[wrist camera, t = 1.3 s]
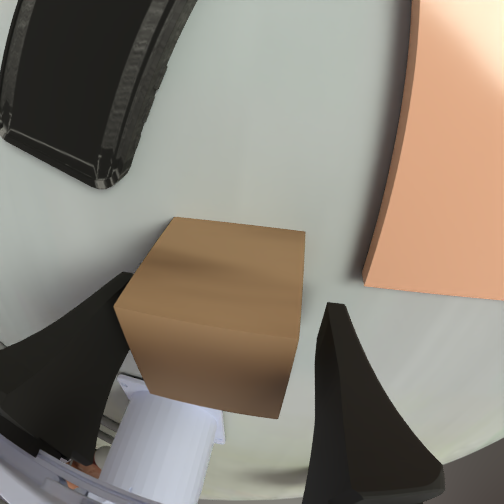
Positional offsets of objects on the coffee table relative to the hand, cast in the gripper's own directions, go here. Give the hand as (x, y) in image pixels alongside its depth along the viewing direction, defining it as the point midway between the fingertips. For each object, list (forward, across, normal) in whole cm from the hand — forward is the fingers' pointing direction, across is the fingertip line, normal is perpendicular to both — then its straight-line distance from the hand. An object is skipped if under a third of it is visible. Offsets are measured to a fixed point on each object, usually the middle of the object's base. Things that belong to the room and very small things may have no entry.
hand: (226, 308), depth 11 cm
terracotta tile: (+2, -11, -7) cm, 13 cm away
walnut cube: (+2, 0, 0) cm, 2 cm away
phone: (+3, +5, -12) cm, 13 cm away
